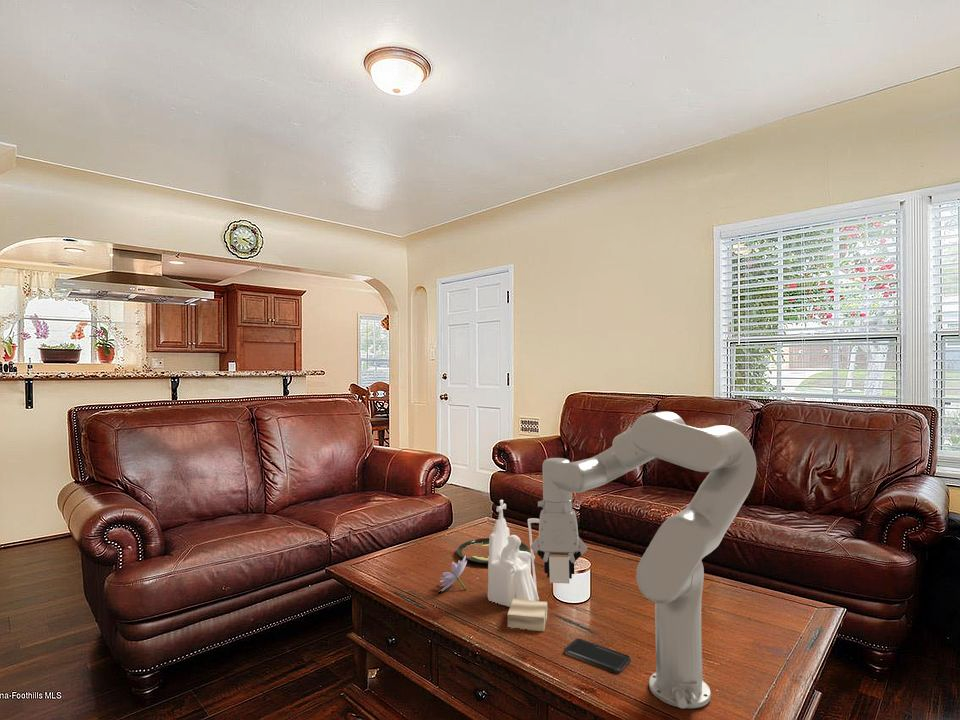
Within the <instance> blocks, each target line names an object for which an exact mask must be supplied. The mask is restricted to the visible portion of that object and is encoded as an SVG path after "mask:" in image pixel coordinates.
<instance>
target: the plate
mask: <svg viewBox="0 0 960 720" xmlns="http://www.w3.org/2000/svg"><path fill="white" fill-rule="evenodd" d="M482 542H483V545H482V546H489V537H483V538H482V537H481V538H476V539H471V540H468V541H465V542H463V543H462V544H460V545H458V547H457V549H456V553H457V555H458V556H459V558H461V559H463V558H464V556H463V555H462V549H463V548H465V547H466V546H467V545H470V544H474V543H482ZM519 551H526V552H529V553H530V552H531V549H530V548H529V546H528V545H527V544H525V543H524V542H522V541H521V545H519ZM465 560H466V561H470V562H473V563H477V564H484V565H485V564H486V565H488V558H484V557H477V556H472V557H471V558H466V559H465Z"/></svg>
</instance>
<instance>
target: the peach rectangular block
mask: <svg viewBox="0 0 960 720" xmlns="http://www.w3.org/2000/svg"><path fill="white" fill-rule="evenodd" d="M549 573H550V577H549V583H550V584H568V585H569V584H570V578H569V554H568V553H559V552H550V553H549Z"/></svg>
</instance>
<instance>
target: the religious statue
mask: <svg viewBox="0 0 960 720" xmlns="http://www.w3.org/2000/svg"><path fill="white" fill-rule="evenodd" d="M499 504H500V505H499V506H498V505H497V506H496V512H497V513H498V518H497V519H496V521H495V522H494V526H493V529H492V532H491V533H490V534H489V537H488V538H489V556H488V564H487V575H488V576H487V577H488V578H487V599H488V601H489V602H490V601H492V602H491V603H493V602H495V603H494V604H497V603H498V604H497V605H501V606H505V607H508V608H510V606H511V604H512V601H513V599H519V600H531V601H540V598H539V595H538V594H539V593H538V589H537V577H536V576H537V575H536V570H535V569H536V567H535V562H534V561H535V558H536V555H534V553H535V552H534V551H533V550H532V549H531V545H532V543H533V534H532V524H535V523H536V524H539V520H540V518H535V517H534V518H533V517H532V518H528V519H527V526H528V527H527V528H528V533H529V536H528V537H529V545H530V546H529V547H530V548H529V549H530V551H529V552H526V551H519V545H521V542H522V541H521V538H520V537H518V536H519V535H516V534H511V533H510V528H509V527H508V525H507V520H506V519H505V517H504V511H503V510H506V509H507V504H506V503H504V499H500V500H499ZM510 534H511V535H510ZM531 566H532V572H531Z"/></svg>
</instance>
